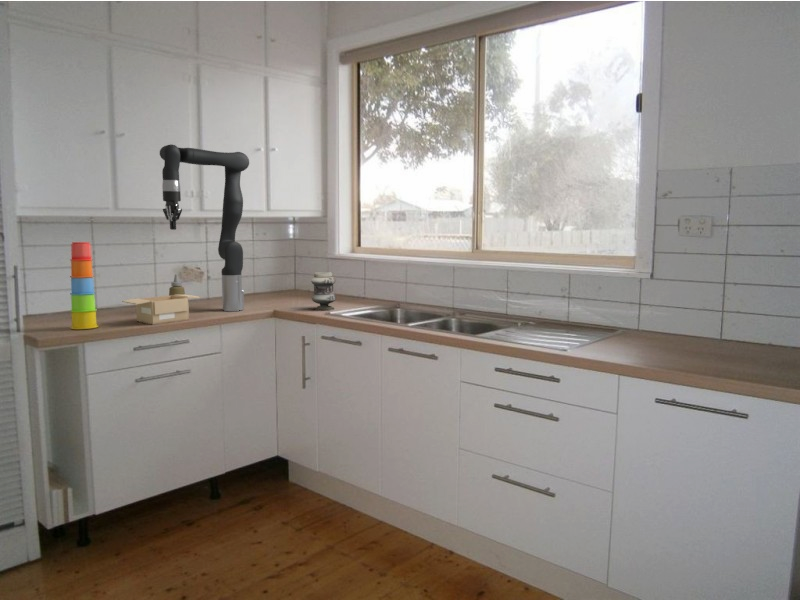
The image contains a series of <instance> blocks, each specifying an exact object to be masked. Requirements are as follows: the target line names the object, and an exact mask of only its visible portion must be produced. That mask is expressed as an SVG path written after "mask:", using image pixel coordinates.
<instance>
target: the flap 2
mask: <svg viewBox="0 0 800 600" xmlns="http://www.w3.org/2000/svg"><path fill="white" fill-rule="evenodd" d="M174 296H179V297H186V298H188V299H201V296H198V295H191V294H185V295H174Z"/></svg>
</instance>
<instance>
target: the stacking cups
mask: <svg viewBox="0 0 800 600" xmlns="http://www.w3.org/2000/svg"><path fill="white" fill-rule="evenodd" d="M70 245H71V246H70V247H71V248H70V249H71V259H69V261H70V263H71V264H70V266H71V267H70V270H71V273H70V274H71V275H70V276H69V278H70V282H71V283H70V286H71V292H70V293H69V294H70V300H71V309H70V310H69V312H70V313H71V326H70V329H71V330H90V329H97V328H99V325H98V324H97V323H98V322H97V311H98V309H97V308H96V300H95V294H96V292H95V290H94V289H95V288H94V277H95V275H93V262H92V261H93V259H92V246H91V243H90V242H87V241H86V242H81V241H79V242H78V241H77V242H76V241H74V242H73V241H72V242H71V244H70Z"/></svg>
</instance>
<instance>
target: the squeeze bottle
mask: <svg viewBox="0 0 800 600" xmlns="http://www.w3.org/2000/svg"><path fill="white" fill-rule="evenodd" d="M182 283H183V282H181V281H180V278H179V275H178V274H174V279H173V282H171V283H170V285H171V286H170V287H169V289H168V290H169V293H168V296H170V295H173V296H174V295H186V291H185V287H184V286H183V284H182Z"/></svg>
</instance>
